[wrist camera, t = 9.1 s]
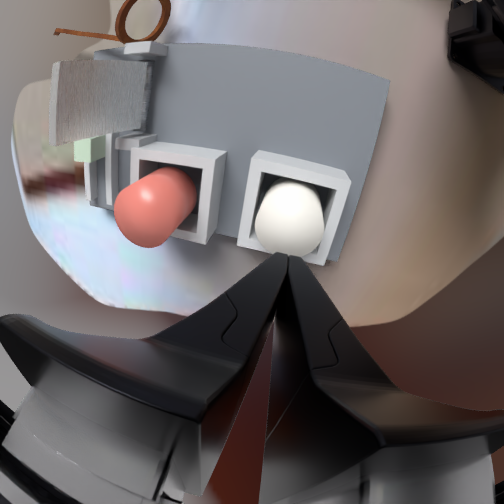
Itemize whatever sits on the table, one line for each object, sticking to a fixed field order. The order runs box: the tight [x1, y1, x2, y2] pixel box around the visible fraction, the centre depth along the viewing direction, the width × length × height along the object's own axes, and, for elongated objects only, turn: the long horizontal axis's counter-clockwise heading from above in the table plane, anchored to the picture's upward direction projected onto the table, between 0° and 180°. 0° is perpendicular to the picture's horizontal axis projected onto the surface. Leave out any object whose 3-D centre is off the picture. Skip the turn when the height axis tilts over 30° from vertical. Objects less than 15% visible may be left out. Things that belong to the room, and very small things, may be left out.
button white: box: [255, 177, 324, 257], centre depth 17 cm, size 4×4×4 cm
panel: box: [84, 41, 390, 266], centre depth 18 cm, size 22×14×5 cm, turn 80°
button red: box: [114, 166, 197, 248], centre depth 16 cm, size 4×4×4 cm
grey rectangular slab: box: [49, 59, 155, 146], centre depth 13 cm, size 1×5×8 cm, turn 169°
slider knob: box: [74, 135, 106, 163], centre depth 18 cm, size 2×2×3 cm
